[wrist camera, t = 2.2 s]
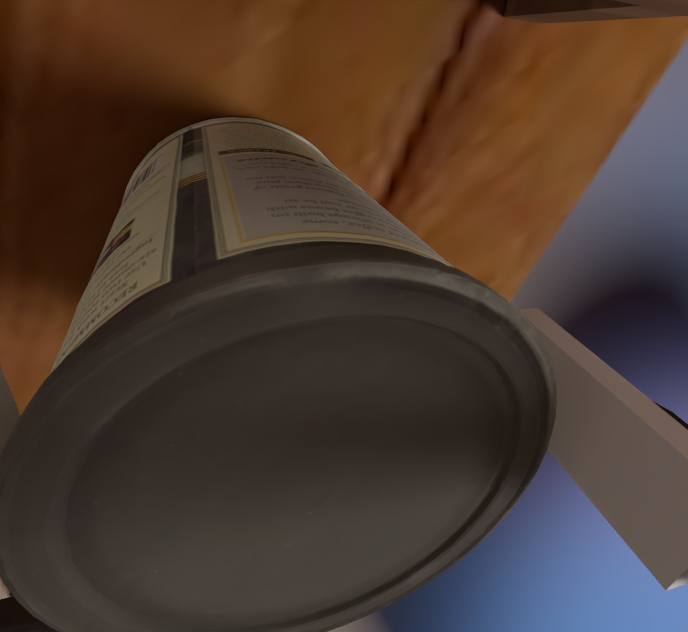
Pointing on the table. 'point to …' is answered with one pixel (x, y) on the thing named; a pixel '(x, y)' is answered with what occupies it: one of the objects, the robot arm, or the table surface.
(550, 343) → the robot arm
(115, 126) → the table surface
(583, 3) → the stool
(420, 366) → the coffee can
